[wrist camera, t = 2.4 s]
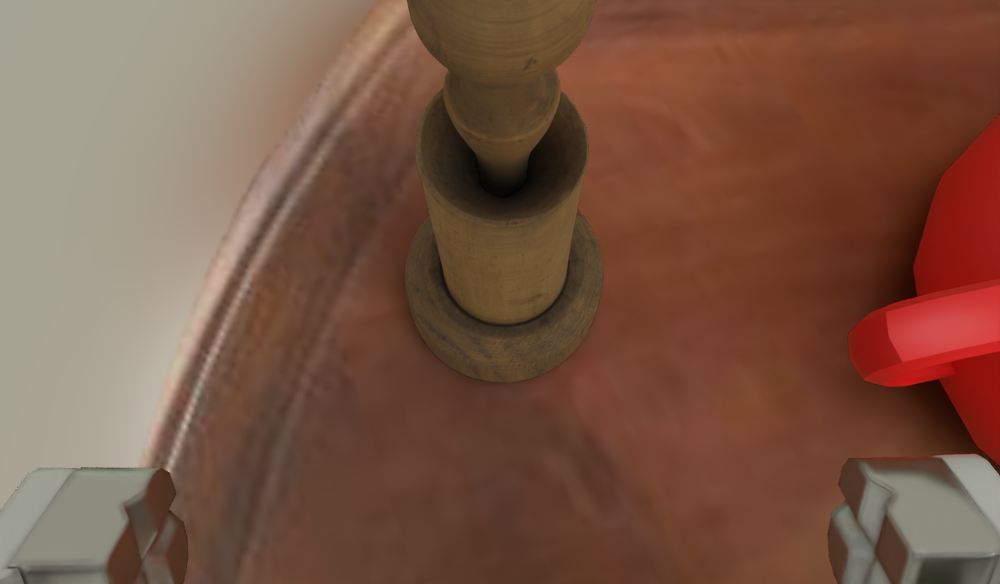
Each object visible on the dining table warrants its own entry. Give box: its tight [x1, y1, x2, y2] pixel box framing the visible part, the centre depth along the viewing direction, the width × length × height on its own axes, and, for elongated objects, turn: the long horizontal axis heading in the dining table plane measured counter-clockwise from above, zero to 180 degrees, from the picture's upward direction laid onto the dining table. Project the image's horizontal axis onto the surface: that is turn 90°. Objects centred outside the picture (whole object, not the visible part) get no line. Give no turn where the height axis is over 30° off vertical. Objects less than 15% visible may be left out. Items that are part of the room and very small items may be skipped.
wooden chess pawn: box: [405, 0, 603, 382], centre depth 21 cm, size 7×6×18 cm
